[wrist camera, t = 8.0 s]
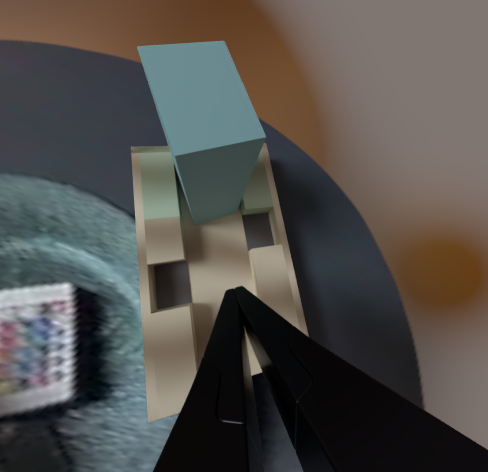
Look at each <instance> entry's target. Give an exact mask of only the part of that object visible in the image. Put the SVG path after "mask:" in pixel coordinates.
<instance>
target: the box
mask: <svg viewBox="0 0 488 472" xmlns="http://www.w3.org/2000/svg"><path fill="white" fill-rule="evenodd" d="M131 155H132V171H133V186H134V202H135V218H136V234H137V250H138V266H139V282H140V298H141V313H142V329H143V345H144V361H145V377H146V393H147V409H148V423H149V422H152V421H155V420H158V419H161V418H165V417H168V416H171V415H174V414H177V413H180V411H181V409H182V407H183V405H184V402H185V400H186V398H187V395H188V393H189V391H190V389H191V386H192V384H193V381H194V379H195V376H196V373H197V371H198V368H199V365H200V362H201V359H202V357H204V356H203V354H204V352H205V349H206V346H207V343H208V340H209V337H210V334H211V331H212V328H213V325H214V323H215V320H216V317H217V314H218V311H219V308H220V305H221V302H222V299H223V297H224V294H225V291H226V290H228V289H232V288H235V287H238V286H244V287H245V288H246V289H247V290H249V291H250V292H251V293H252V294H254V295H255V296H256V297H258V298H259V299H260V300H261V301H263V302H264V303H265V304H267V305H268V306H269V307H270V308H272V309H273V310H274V311H275V312H277V313H278V314H279V315H281V316H282V317H283V318H284V319H286V320H287V321H288V322H289V323H291V324H292V325H293V326H295V327H296V328H298V329H299V330H300V331H301V332H303V333H304V334H305V335H307V336H308V331H307V327H306V322H305V318H304V313H303V309H302V304H301V300H300V295H299V290H298V286H297V281H296V277H295V272H294V268H293V263H292V259H291V254H290V250H289V245H288V241H287V236H286V232H285V227H284V222H283V218H282V213H281V209H280V204H279V200H278V195H277V191H276V186H275V182H274V177H273V173H272V168H271V163H270V159H269V154H268V150H267V145H266V143H264V144H263V146H262V149H261V151H260V154H259V156H258V159H257V161H256V164H255V166H254V169H253V171H252V174H251V176H250V179H249V181H248V184H247V186H246V189H245V192H244V194H243V197H242V199H241V202H240V204H239V207H238V209H237V212H236V213H235V214H231V215H228V216H225V217H222V218H218V219H215V220H212V221H208V222H205V223H202V224H199V225H195V224H194V221H193V218H192V215H191V212H190V209H189V206H188V203H187V200H186V197H185V195H184V192H183V189H182V186H181V183H180V180H179V177H178V174H177V171H176V168H175V165H174V162H173V159H172V155H171V152H170V149H169V146H149V147H131ZM244 329H245V328H244ZM245 333H246V331H245ZM308 337H309V336H308ZM246 340H247V347H248V354H249V362H250V369H251V375H255V374H258V373H262V370H261V368H260V365H259V363H258V360H257V358H256V356H255V353H254V351H253V348H252V346H251V344H250V341H249V339H248V336H247V334H246Z"/></svg>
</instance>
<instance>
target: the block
mask: <svg viewBox="0 0 488 472" xmlns="http://www.w3.org/2000/svg"><path fill="white" fill-rule="evenodd" d="M137 49H138V52H139V55H140V58H141V61H142V64H143V67H144V71H145V74H146V77H147V80H148V83H149V86H150V89H151V93H152V96H153V99H154V102H155V105H156V108H157V111H158V115H159V118H160V121H161V124H162V127H163V130H164V133H165V137H166V140H167V143H168V146H169V149H170V152H171V155H172V159H173V162H174V165H175V168H176V171H177V174H178V177H179V180H180V183H181V186H182V189H183V192H184V195H185V197H186V200H187V203H188V206H189V209H190V212H191V215H192V218H193V221H194V224H195V225H199V224H202V223H205V222H208V221H212V220H215V219H218V218H222V217H225V216H228V215H231V214H235V213H236V212H237V209H238V207H239V204H240V202H241V199H242V197H243V194H244V192H245V189H246V186H247V184H248V181H249V179H250V176H251V174H252V171H253V169H254V166H255V164H256V161H257V159H258V156H259V154H260V151H261V149H262V146H263V144H264V141H265V139H266V136H265V133H264V131H263V129H262V126H261V124H260V122H259V120H258V117H257V115H256V113H255V110H254V108H253V106H252V103H251V101H250V99H249V97H248V95H247V92H246V90H245V87H244V85H243V83H242V81H241V78H240V76H239V74H238V72H237V69H236V67H235V65H234V62H233V60H232V58H231V56H230V53H229V51H228V49H227V46H226V44H225V42H224V41H214V42H200V43H199V42H198V43H183V44H167V45H152V46H137Z"/></svg>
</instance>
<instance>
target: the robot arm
mask: <svg viewBox="0 0 488 472" xmlns="http://www.w3.org/2000/svg"><path fill="white" fill-rule="evenodd" d="M244 328H245V329H244ZM245 331H246V333H245ZM246 334H247V336H248V339H249V341H250V344H251V346H252V348H253V351H254V353H255V356H256V358H257V360H258V363H259V365H260V368H261V370H262V372H263V375H264V377H265V379H266V382H267V384H268V387H269V389H270V391H271V394H272V396H273V399H274V401H275V403H276V406H277V408H278V411H279V413H280V415H281V418H282V420H283V423H284V425H285V427H286V430H287V432H288V435H289V437H290V439H291V442H292V444H293V447H294V449H295V450H296V454H297V456H298V459H299V461H300V463H301V466H302V469H303V471H304V472H488V450H487V449H486V448H484V447H482V446H481V445H479V444H477V443H476V442H474V441H473V440H471V439H470V438H468V437H466V436H465V435H463V434H461V433H460V432H458V431H456V430H455V429H454V428H452V427H450V426H449V425H447V424H446V423H444V422H442V421H441V420H439V419H438V418H436V417H434V416H433V415H431V414H430V413H428V412H426V411H425V410H423V409H422V408H420V407H418V406H417V405H415V404H414V403H412V402H410V401H409V400H407V399H406V398H404V397H402V396H401V395H399V394H398V393H396V392H394V391H393V390H391V389H390V388H388V387H386V386H385V385H383V384H382V383H380V382H378V381H377V380H375V379H374V378H372V377H370V376H369V375H367V374H366V373H364V372H362V371H361V370H359V369H358V368H356V367H354V366H353V365H351V364H350V363H348V362H346V361H345V360H343V359H342V358H340V357H338V356H337V355H335V354H334V353H332V352H330V351H329V350H327V349H326V348H324V347H323V346H321V345H320V344H318V343H317V342H315V341H314V340H312V339H311V338H309V337H308V336H307V335H305V334H304V333H303V332H301V331H300V330H299V329H298V328H296V327H295V326H293V325H292V324H291V323H289V322H288V321H287V320H286V319H284V318H283V317H282V316H281V315H279V314H278V313H277V312H275V311H274V310H273V309H272V308H270V307H269V306H268V305H267V304H265V303H264V302H263V301H261V300H260V299H259V298H258V297H256V296H255V295H254V294H252V293H251V292H250V291H249V290H247V289H246V288H245V287H244V286H238V287H235V288H232V289H228V290H226V291H225V294H224V297H223V299H222V302H221V305H220V308H219V311H218V314H217V317H216V320H215V323H214V325H213V328H212V331H211V334H210V337H209V340H208V343H207V346H206V349H205V352H204V354H203V356H204V357H202V359H201V362H200V365H199V368H198V371H197V373H196V376H195V379H194V381H193V384H192V386H191V389H190V391H189V393H188V395H187V398H186V400H185V402H184V405H183V407H182V409H181V411H180V413H179V416H178V418H177V420H176V422H175V424H174V426H173V429H172V431H171V433H170V435H169V437H168V440H167V442H166V444H165V446H164V448H163V450H162V453H161V455H160V457H159V459H158V461H157V463H156V466H155V468H154V470H153V472H265V471H264V466H263V457H262V449H261V442H260V435H259V427H258V420H257V413H256V406H255V398H254V391H253V384H252V376H251V369H250V362H249V354H248V347H247V340H246Z"/></svg>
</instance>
